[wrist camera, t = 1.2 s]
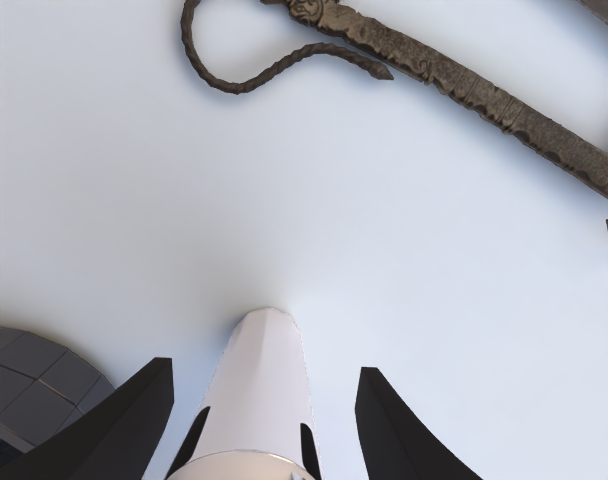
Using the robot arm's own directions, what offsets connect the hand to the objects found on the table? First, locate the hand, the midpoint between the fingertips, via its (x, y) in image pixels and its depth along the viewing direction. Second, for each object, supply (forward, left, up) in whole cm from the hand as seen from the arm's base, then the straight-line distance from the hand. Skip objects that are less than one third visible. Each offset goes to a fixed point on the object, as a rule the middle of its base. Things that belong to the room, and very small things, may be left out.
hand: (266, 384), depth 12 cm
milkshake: (0, 0, -4) cm, 4 cm away
